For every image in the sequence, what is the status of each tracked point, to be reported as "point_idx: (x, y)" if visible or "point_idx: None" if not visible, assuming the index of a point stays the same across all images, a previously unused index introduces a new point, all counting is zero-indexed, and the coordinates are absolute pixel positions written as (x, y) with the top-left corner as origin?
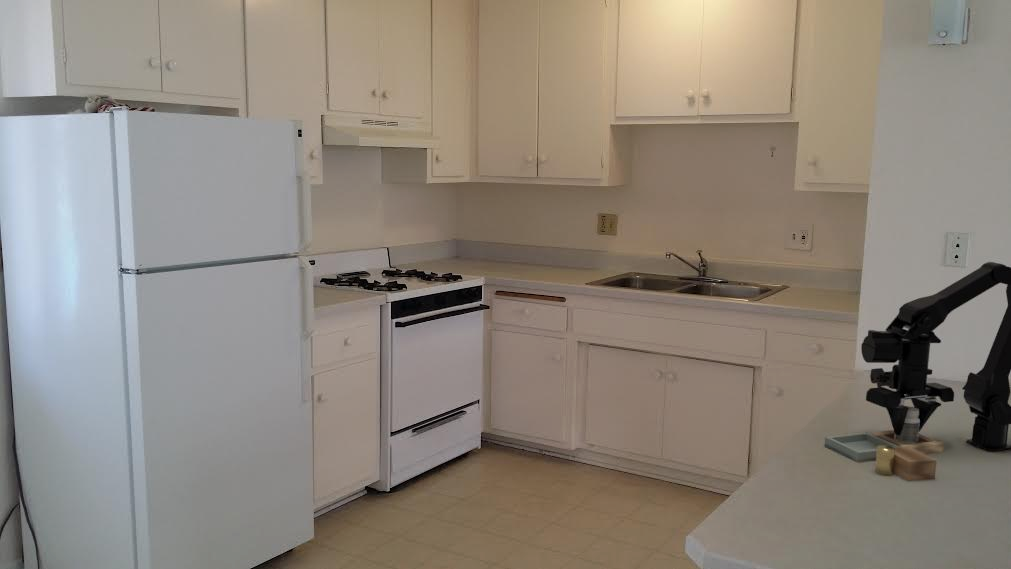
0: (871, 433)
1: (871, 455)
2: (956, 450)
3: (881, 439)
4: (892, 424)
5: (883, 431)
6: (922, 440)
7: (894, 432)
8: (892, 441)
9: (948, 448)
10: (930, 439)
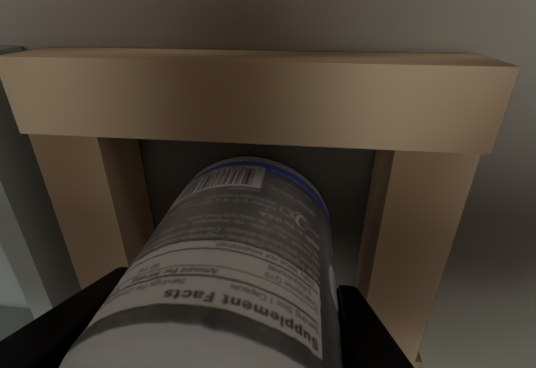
0: (5, 74)
1: None
2: (498, 358)
3: (12, 239)
4: (31, 329)
5: (163, 60)
6: (362, 293)
7: (112, 272)
8: (90, 272)
9: (491, 328)
10: (401, 334)
